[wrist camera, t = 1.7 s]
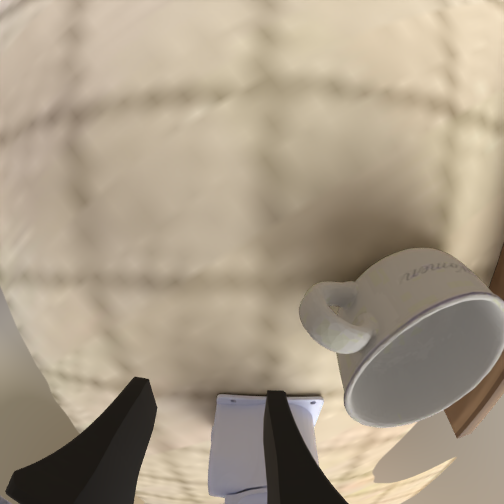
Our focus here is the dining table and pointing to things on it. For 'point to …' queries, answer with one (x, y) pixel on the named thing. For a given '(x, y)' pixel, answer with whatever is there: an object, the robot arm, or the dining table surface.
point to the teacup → (407, 335)
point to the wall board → (491, 386)
